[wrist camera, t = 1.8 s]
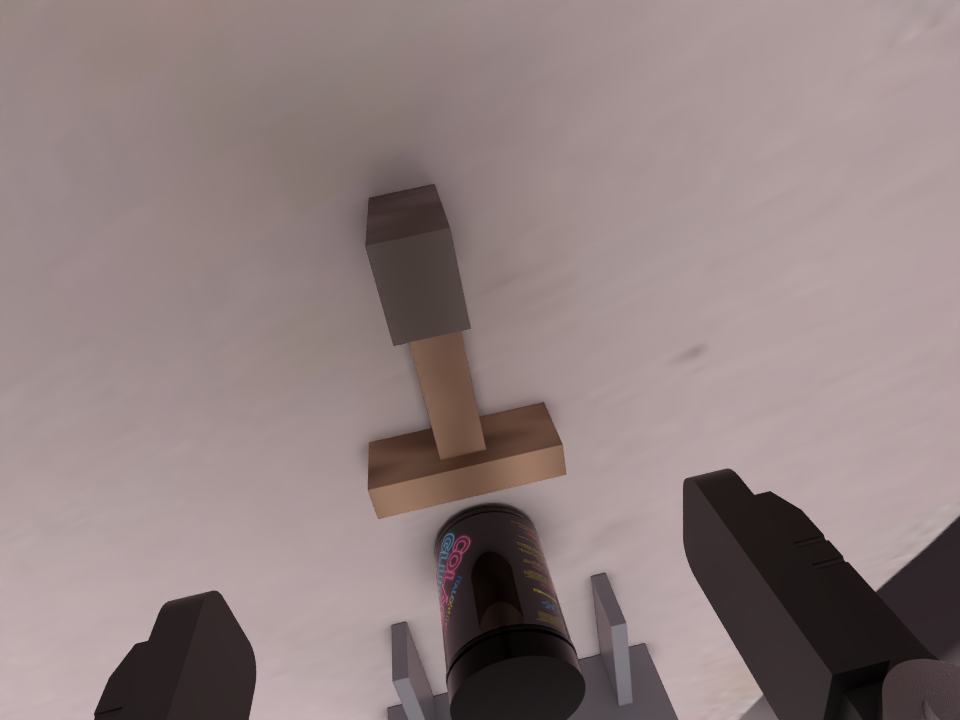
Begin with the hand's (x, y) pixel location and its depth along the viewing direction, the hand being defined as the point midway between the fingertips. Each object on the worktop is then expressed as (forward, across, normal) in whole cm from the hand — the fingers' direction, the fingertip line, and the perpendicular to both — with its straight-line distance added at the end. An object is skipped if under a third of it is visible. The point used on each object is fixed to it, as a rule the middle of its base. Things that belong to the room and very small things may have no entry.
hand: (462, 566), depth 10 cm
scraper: (+20, 0, +6) cm, 21 cm away
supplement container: (+20, 0, +20) cm, 29 cm away
